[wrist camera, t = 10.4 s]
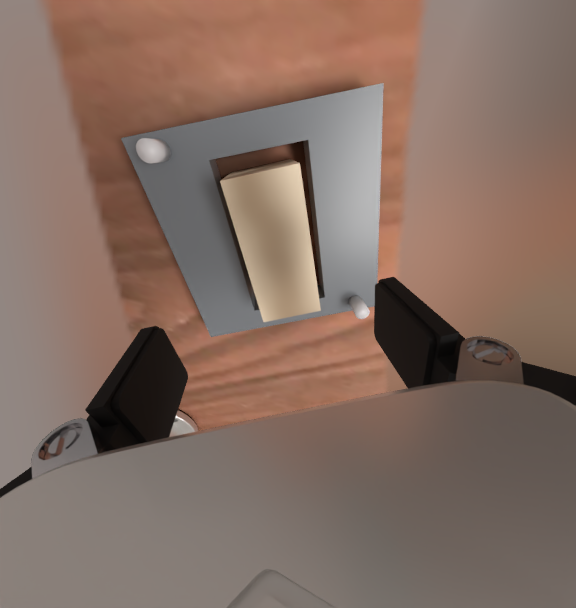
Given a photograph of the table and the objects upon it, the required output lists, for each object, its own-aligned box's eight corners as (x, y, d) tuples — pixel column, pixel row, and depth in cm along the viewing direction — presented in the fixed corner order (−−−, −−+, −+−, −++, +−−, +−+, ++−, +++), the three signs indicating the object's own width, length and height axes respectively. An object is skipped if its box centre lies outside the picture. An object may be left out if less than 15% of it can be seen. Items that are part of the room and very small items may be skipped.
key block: (290, 159, 18) (299, 163, 13) (308, 276, 24) (320, 310, 19) (232, 172, 19) (219, 181, 14) (263, 285, 24) (263, 322, 19)
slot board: (367, 292, 25) (385, 318, 21) (215, 321, 26) (206, 351, 22) (368, 91, 17) (399, 74, 13) (138, 139, 17) (102, 136, 13)
